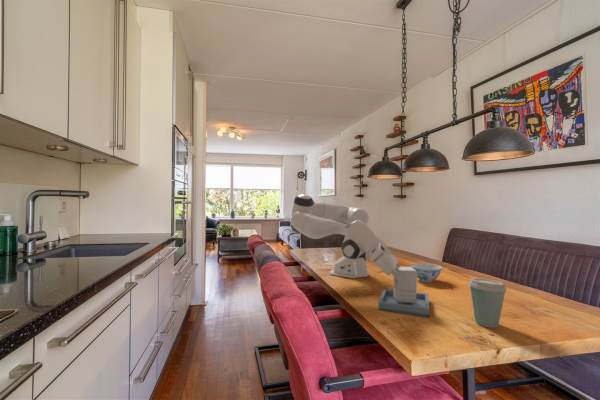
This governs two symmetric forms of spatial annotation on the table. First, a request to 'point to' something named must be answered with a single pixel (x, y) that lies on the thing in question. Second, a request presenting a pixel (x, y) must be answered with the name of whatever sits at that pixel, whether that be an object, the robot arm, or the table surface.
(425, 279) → the chinaware
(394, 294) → the supplement box
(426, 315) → the tray
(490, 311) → the disposable coffee cup
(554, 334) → the table surface
